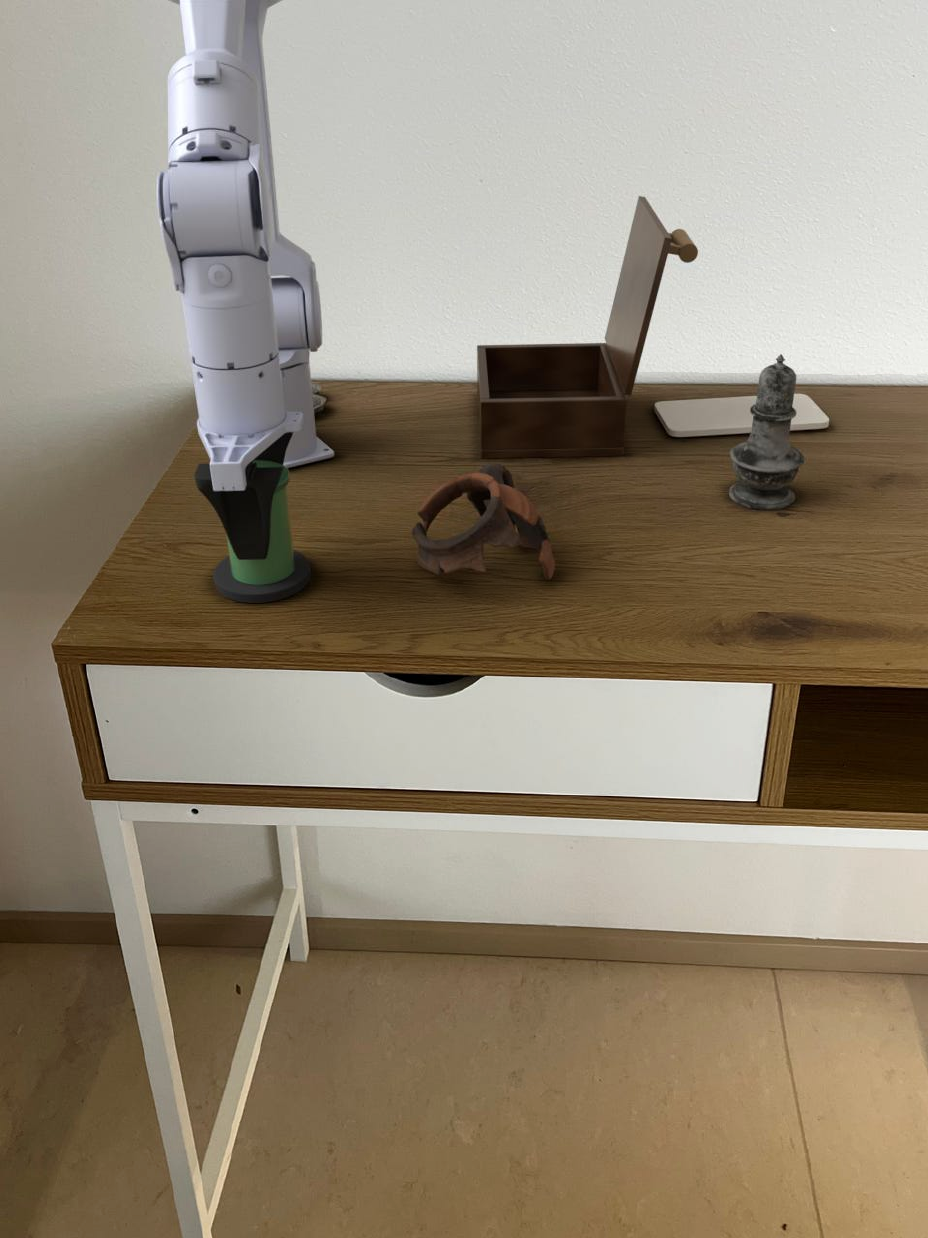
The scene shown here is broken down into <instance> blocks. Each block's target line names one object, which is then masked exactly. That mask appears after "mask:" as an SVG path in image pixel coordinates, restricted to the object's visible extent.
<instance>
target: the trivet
mask: <svg viewBox="0 0 928 1238" xmlns="http://www.w3.org/2000/svg"><path fill="white" fill-rule="evenodd" d="M293 551H294V561H295V569H294V571H293V573H292V574H291V575H290V576H288V577H287V578H285V579H283V580H281V581H278V582H275V583H271V584H265V585H251V584H246V583H242V582H240V581H238V580H236V579H235V578H234V577H233V575H232V572H231V565H230V558H229V555H228V556H226V557H225V558H223V559H222V560H221V561H220V562H219V563H218V564H217V565H216V567H215V568H214V570H213V582H214V587H215V589H216V591H217V592H218V593H219V594H220V595H221V596H223V597H224V598H226V599H228V600H231V601H234V602H238V603H244V604H265V603H266V604H267V603H273V602H277V601H281V600H284V599H287V598H290V597H292V596H294V595H296V594H297V593H300V592H301V591H302V590H303V589H304V588H305V587H306V586H307V585H308V584H309V582H310V580H311V577H312V572H311V564H310V561H309V559H308V558H307V557H306V556H305V555H304V554H302V553H301V552H299V551H297V550H295V549H293Z"/></svg>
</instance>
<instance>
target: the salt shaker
mask: <svg viewBox="0 0 928 1238" xmlns="http://www.w3.org/2000/svg"><path fill="white" fill-rule="evenodd" d="M775 360H776V363H774V364H771V365H767V366H766V367H764V368H763V369H762V370H761V371H760V374H759V377H758V385H757V391H756V393H757V394H756V396H757V400H756V404H755V405H753V406H752V407H751V409H750V412H751V414H752V415H753V423H752V431H751V433H749V436H748V439H747V441H744V442H740V443H738V444H736V445H734V446H733V447H732V448H731V449H730V452H729V456H730V460H732V468H733V470H734V474H735V477H736V478H737V479H738V480H739V481H738V482H736V483H734V484H733V485H731V486H730V488H729V490H728V495H729V497H730V499H731V500H732V501H733V502H735V503H737V504H738V505H740V506H743V507H746V508H749V509H754V510H760V511H773V510H774V511H775V510H781V509H785V508H787V507H789V506H791V505H793V503H794V502H795V498H796V496H795V493H794V491H793V490H792V489H791V488H789V487H788V485H789V484H791V483H792V482H793V481H794V480H795V478H796V476H797V475H798V473H799V471H800V468H801V467H802V466H803V465H804V464H805V455H804V454H803V453H802V451H800V450H799V449H798V448H796V447H795V446H792V445H791V442H790V432H791V430H790V425H791V419H792V418H794V417H795V416H796V410H795V409H794V408H793V407H792V405H793V398H794V394H795V392H796V391H795V390H796V385H797V373H796V372H795V371H794V369H792V368H791V366H788V365H786V364H785V363H784V362H785V361H786V359H785V357H784V356H783V354H779V355H778V356H777V357H776V358H775Z"/></svg>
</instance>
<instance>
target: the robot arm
mask: <svg viewBox="0 0 928 1238" xmlns="http://www.w3.org/2000/svg"><path fill="white" fill-rule="evenodd" d="M168 1H169V2H171V3H174V4H176V5H179V8H180V15H181V17H180V18H181V26H182V34H183V43H184V50H185V51H184V52H185V55H183V56H181V57H180V58H179V59H178V60H177V61H176V62H175V63H174V64H173V65H172V67H171V68H170V70H169V73H168V76H167V171H166V172H165V173H164V172H163V171H162V170H161V171H159V172H158V173H157V179H156V208H157V217H158V218H157V219H158V224H159V229H160V234H161V238H162V241H163V243H164V247H165V251H166V254H167V256H168V259H169V260H168V261H169V263H170V269H171V275H172V281H173V285H174V289H175V291H176V292H179V293H180V295H181V305H182V311H183V319H184V325H185V332H186V338H187V345H188V352H189V359H190V366H191V371H192V380H193V386H194V392H195V400H196V407H197V413H198V419H197V421H196V427H197V432H198V436H199V438H200V441H201V443H202V444H203V446H204V450H205V451H206V453H207V455H208V457H209V460H210V462H207V463H198V464H197V466H196V469H195V472H194V474H193V476H194V482H195V485H196V488H197V490H198V491H199V492H200V493H201V494H202V495H203V497H204V498H205V499H206V500H207V501H208V502H209V504H210V505H211V506H212V508H213V510H214V511H215V513H216V514H217V516H218V518H219V520H220V522H221V524H222V527H223V529H224V531H225V535H226V534H227V537H228V539H229V542H230V544H231V547H232V549H233V551H234V553H235V555H236V557H237V559H238V560H256V559H266V558H267V554H268V550H269V544H270V529H271V509H272V501H273V496H274V492H275V490H276V487H277V485H278V482H279V480H280V477H281V474H282V470H283V467H260V468H257V463H254V464H253V460H264V461H272V462H276V463H279V464H282V465H283V466H285V467H286V468H287V469H289V468H294V467H298V466H303V465H307V464H310V463H314V462H319V461H323V460H327V459H331V458H333V457H335V450H333V449H332V448H330V447H329V446H328V444H326V443H325V442H323V441H322V439H320V438H319V437H318V436H317V430H316V429H317V428H316V419H315V414H314V406H313V395H312V384H311V382H312V375H311V365H310V364H311V363H310V353H317V352H318V350H319V348H320V347H322V345H323V319H322V307H321V296H320V295H321V294H320V286H319V285H320V284H319V281H318V280H317V279H318V277H317V269H316V267H317V266H316V263H315V261H313V259H312V255H310V254H309V252H307V251H306V250H304V249H303V248H302V247H300V246H299V245H298V244H296V243H295V242H293V241H291V240H290V239H288V238H287V237H286V236H284V235H283V234H282V233H281V232H280V224H279V223H280V221H279V210H278V201H277V189H276V178H275V168H274V155H273V143H272V134H271V121H270V112H269V99H268V91H267V90H268V89H267V78H266V67H265V57H264V46H263V35H264V29H265V25H266V24H265V23H266V18H267V13H268V9H269V8H271V7H272V6H274V5H276V4H278V3H280V2H282V1H283V0H168ZM278 276H280V277H278ZM281 276H282V277H281ZM227 537H226V538H227Z"/></svg>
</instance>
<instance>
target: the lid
mask: <svg viewBox="0 0 928 1238" xmlns="http://www.w3.org/2000/svg"><path fill="white" fill-rule="evenodd" d="M669 255H675V256H678V258H679V259H680V261H682V262H683V263H686V264H689V263H692V262H694V261H695V260H696V259H697V258H698V255H699V250H698V246H696V244H695V243H694V241H693V240H692V239H691V237H690V236H689V235H688V232H687V231H686V230H684V229H682V228H677V229H674V230H673V231H672V232H668V230H667V229H666V227H665V225H664V224H663V222H662V221H661V219H660V218H659V216H658V215H657V213H656V212H655V211H654V208H653V207H652V205H651V204H650V202H649V201H648V199H647V198H646V196H642V195H639V196H638V198H637V202H636V206H635V209H634V214H633V219H632V222H631V227H630V231H629V234H628V239H627V243H626V248H625V252H624V256H623V261H622V264H621V268H620V273H619V277H618V280H617V286H616V289H615V293H614V297H613V301H612V305H611V310H610V313H609V314H610V315H609V319H608V322H607V326H606V330H605V335H604V341H605V343H606V344H607V347H608V350H609V352H610V355H611V358H612V361H613V364H614V367H615V369H616V372H617V375H618V378H619V381H620V384H621V386H622V389H623V392H624V395H626V396H630V397H631V396H632V394H633V389H634V387H635V383H636V378H637V374H638V371H639V367H640V363H641V359H642V355H643V353H644V352H643V351H644V348H645V344H646V340H647V336H648V332H649V328H650V325H651V321H652V316H653V314H654V309H655V305H656V302H657V298H658V294H659V291H660V286H661V282H662V279H663V275H664V271H665V267H666V263H667V259H668V256H669Z"/></svg>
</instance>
